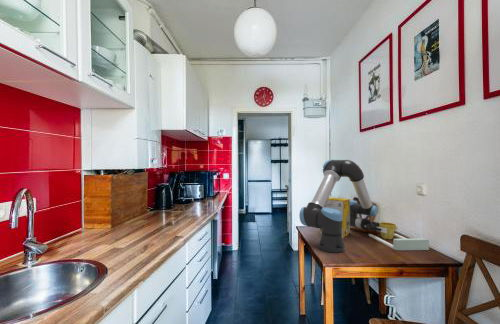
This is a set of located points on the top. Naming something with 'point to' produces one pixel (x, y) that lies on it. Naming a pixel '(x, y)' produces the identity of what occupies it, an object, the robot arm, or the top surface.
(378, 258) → the top surface
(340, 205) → the packaging box
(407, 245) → the guide track
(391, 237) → the plant pot
